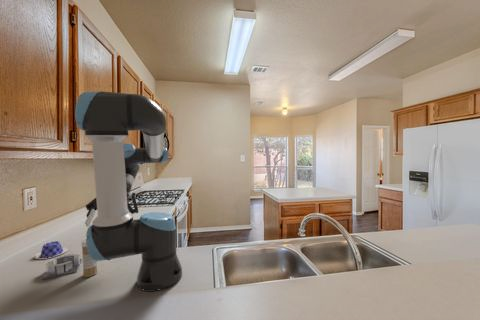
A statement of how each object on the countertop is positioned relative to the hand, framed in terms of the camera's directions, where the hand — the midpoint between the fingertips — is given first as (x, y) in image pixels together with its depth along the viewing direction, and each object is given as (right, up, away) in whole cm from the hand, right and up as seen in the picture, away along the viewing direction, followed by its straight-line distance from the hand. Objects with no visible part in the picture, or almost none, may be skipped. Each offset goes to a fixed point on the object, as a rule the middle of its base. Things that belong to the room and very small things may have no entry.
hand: (105, 225), depth 84 cm
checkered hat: (-35, -18, +15) cm, 42 cm away
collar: (-17, -18, 0) cm, 24 cm away
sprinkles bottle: (-3, -18, -4) cm, 18 cm away
